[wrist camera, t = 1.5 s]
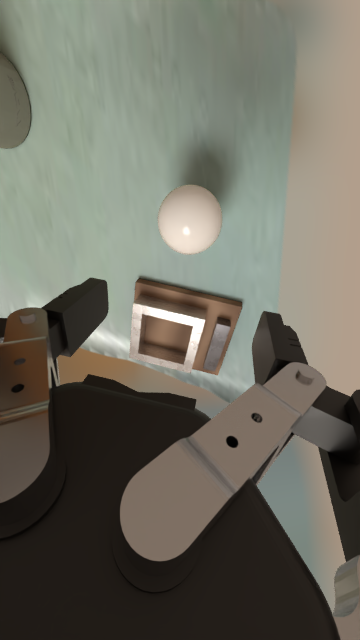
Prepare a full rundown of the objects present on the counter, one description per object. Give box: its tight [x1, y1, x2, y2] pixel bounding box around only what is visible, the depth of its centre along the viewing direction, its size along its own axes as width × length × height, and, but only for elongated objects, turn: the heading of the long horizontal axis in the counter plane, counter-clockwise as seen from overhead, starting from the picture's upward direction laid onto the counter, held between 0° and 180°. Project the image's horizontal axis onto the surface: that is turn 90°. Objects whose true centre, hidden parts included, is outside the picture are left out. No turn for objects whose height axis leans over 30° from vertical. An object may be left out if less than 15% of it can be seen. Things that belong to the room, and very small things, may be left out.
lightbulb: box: [158, 185, 222, 255], centre depth 26 cm, size 6×6×11 cm
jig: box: [129, 279, 242, 375], centre depth 38 cm, size 16×14×4 cm
